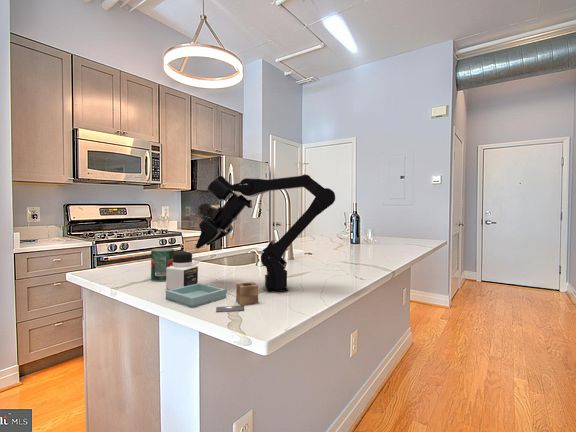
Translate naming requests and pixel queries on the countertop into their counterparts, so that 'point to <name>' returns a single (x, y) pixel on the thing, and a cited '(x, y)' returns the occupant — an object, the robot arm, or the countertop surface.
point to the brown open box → (247, 293)
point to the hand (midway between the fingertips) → (202, 246)
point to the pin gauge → (229, 308)
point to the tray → (195, 295)
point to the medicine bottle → (181, 271)
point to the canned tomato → (160, 263)
